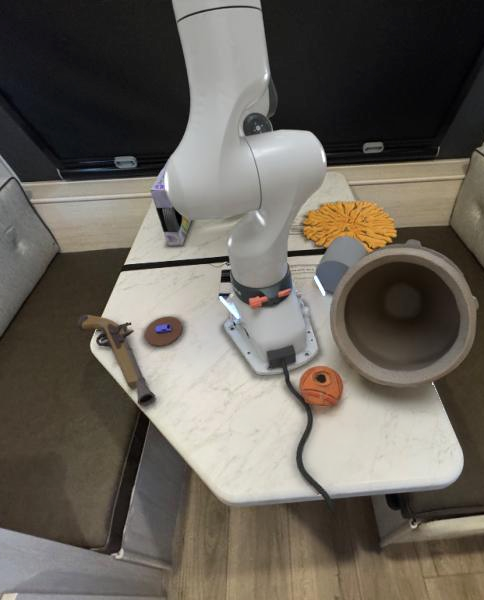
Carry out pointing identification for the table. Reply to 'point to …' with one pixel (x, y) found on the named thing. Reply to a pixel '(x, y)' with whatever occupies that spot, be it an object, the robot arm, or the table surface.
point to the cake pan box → (169, 214)
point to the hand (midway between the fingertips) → (242, 179)
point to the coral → (350, 224)
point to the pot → (321, 386)
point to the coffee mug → (338, 261)
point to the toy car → (163, 331)
